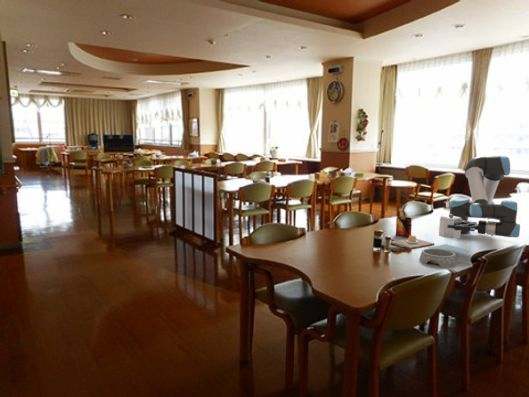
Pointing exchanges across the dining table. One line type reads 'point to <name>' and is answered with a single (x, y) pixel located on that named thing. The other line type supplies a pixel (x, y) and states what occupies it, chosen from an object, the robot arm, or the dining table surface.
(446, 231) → the steel cover
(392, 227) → the dining table surface
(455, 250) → the teal mat
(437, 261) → the dog bowl
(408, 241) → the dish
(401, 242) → the walnut board
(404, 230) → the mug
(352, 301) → the dining table surface
